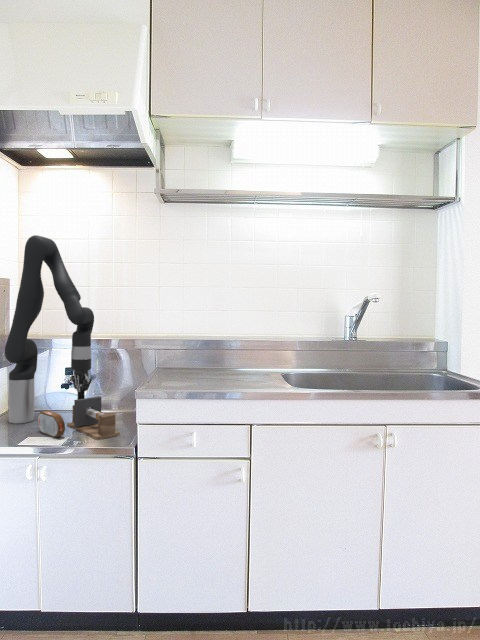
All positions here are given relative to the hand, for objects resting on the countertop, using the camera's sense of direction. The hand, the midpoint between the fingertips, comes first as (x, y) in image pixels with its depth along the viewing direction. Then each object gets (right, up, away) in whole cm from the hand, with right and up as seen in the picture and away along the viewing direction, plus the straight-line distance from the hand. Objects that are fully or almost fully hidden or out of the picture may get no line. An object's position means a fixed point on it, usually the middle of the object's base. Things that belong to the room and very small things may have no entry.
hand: (81, 400), depth 167 cm
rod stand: (+7, -10, -7) cm, 14 cm away
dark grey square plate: (+4, -8, -4) cm, 10 cm away
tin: (-6, -10, -13) cm, 18 cm away
